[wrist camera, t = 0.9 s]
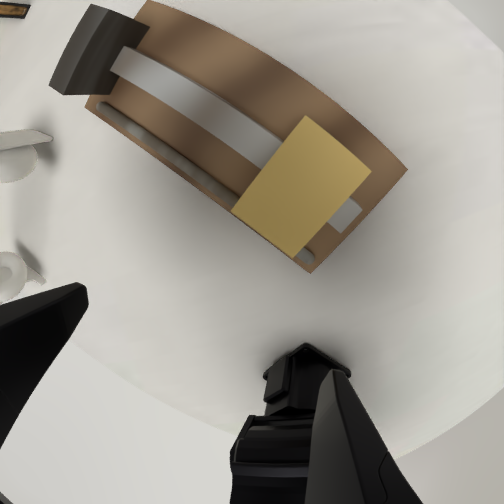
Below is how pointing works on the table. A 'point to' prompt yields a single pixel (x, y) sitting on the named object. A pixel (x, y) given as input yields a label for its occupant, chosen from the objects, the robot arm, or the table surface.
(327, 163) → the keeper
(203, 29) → the rail board
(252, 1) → the table surface
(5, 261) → the headset
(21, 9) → the ammunition clip
